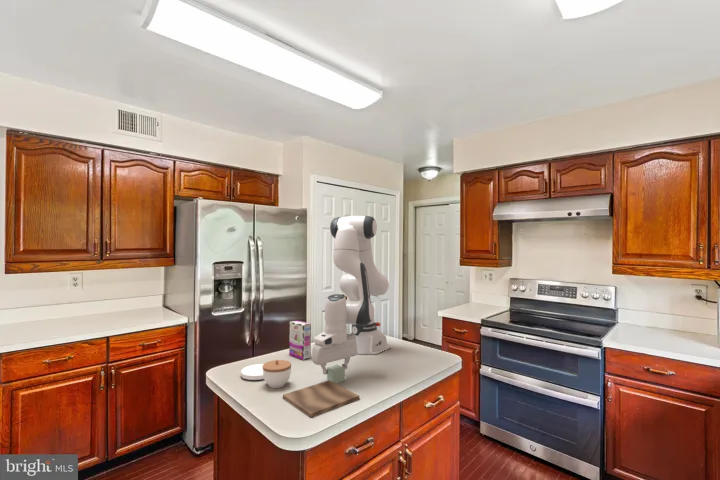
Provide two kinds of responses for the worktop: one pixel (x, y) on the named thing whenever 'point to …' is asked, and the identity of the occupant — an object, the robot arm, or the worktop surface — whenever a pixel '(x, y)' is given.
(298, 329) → the candy bar box
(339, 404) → the cutting board
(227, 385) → the worktop surface
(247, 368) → the white gear
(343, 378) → the sage cube
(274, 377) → the lidded jar
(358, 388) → the worktop surface
